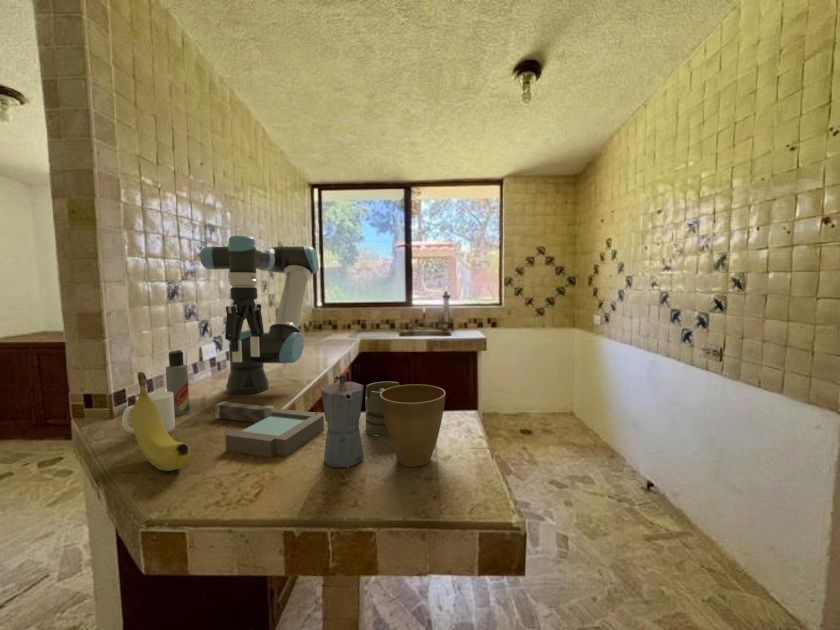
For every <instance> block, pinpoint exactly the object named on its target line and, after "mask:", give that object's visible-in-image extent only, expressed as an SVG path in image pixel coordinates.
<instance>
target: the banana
mask: <svg viewBox="0 0 840 630" xmlns="http://www.w3.org/2000/svg"><path fill="white" fill-rule="evenodd" d="M137 379H138V385H139V388H140V391H139V396H137V397H138V399H137V401H135V403H134V404H133V405H134V407H133V410H131V424H132V428H133V429H134V432H133V433H134V436H135V439H136V441H137V443H138V445H139V447H140V450H141V451H142V453H143V455H144V457H145V458H146V459H147V461H148V462H149V463H150V464H151V465H153V467H154V468H156V469H158V470H160V471H163V472H171V471H176V470H179V469H181V468H183V467H185V466H186V465H187V463H188V461H189V460H190V455H191V447H190V446H189V445H188V444H187V443H185V442H182V441H181V442H180V441H176V440H175V439H174V438H172V437H171V435H170V434H169V433H168V432H167V430H166V428H165V426H164V424H163V422H162V419H161V417H160V414H159V411H158V409H157V407H156V405H155V403H154V402H153V401H152V400H151V399H150V398H149V396H148V392H147V390H146V389H147V387H146V383H147V382H148V379H147V375H146V374H145V372H142V371H139V372H138V373H137Z"/></svg>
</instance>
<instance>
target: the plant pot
mask: <svg viewBox="0 0 840 630" xmlns="http://www.w3.org/2000/svg"><path fill="white" fill-rule="evenodd" d="M380 397H381V403H382V409H383V414H384V419H385V423H386V427H387V430H388V434H389V436H388V437H389V439H390V443H391V446H392V449H393V450H394V454H395V456H396V458H397V461H398V462H400V463H401V464H400V463H399V464H400V465H401V466H404V465H405V466H404V467H407V466H410V467H409V468H416V467H415V466H421V467H423V465H424V466H426V465H428V464H429V463H430V461H431V459H432V456H433V454H434V451H435V447H436V444H437V441H438V438H439V434H440V430H441V425H442V420H443V416H444V410H445V402H446V391H445V389H443V388H441V387H438V386H434V385H429V384H414V383H413V384H403V385H399V386H395V387H391V388H388V389H385V390H384V391H382V392H381V393H380ZM427 463H428V464H427ZM425 464H426V465H425Z"/></svg>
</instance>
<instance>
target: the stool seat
mask: <svg viewBox="0 0 840 630" xmlns="http://www.w3.org/2000/svg"><path fill="white" fill-rule="evenodd" d="M324 419H325V414H324V415H322V414H321V415H320V414H318V412H313V411H305V410H296V409H295V410H294V409H284V408H277V409H274V411H273V412H272V415H271V416H269V417H267V418H266V419H264V420H262V421H260V422H258V423H253V424H252V425H250V426H248V427H246V428H244V429H243V430H233V431H231V432H229V433H227V434H225V436H224V437H225V451H226V452H232V453H237V454H238V453H239V454H245V455H250V456H252V455H253V456H258V457H263V458H264V457H265V458H273V457H274V456H281V457H287V456H289V455H290V454H292V453H293V452H295V450H297V449H299V448H300V447H301V446H303V445H304V444H305V443H307V442H308V441H310V440H311V439H312V438H314V437H315V436H317V435H318V434H320V433H321V432H322V431H324V430H325V423H324V421H325V420H324Z"/></svg>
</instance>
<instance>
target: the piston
mask: <svg viewBox="0 0 840 630" xmlns="http://www.w3.org/2000/svg"><path fill="white" fill-rule="evenodd" d="M395 386H400V382H397V381H377V382H373V383H372V382H371V383H369V384H367V385H366V386H365V396H364V397H365V404H364V405H365V432H366V431H367V432H368V433H367V432H366V433H367V434H369V433H370V434H369V435H371V434H373V435H372V436H374V435H378V436H377V437H382V436H386V437H389V434H388V430H387V427H386V423H385V419H384V414H383V409H382V403H381V397H380V393H381V392H382V391H384V390H385V389H388V388H391V387H395Z"/></svg>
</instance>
